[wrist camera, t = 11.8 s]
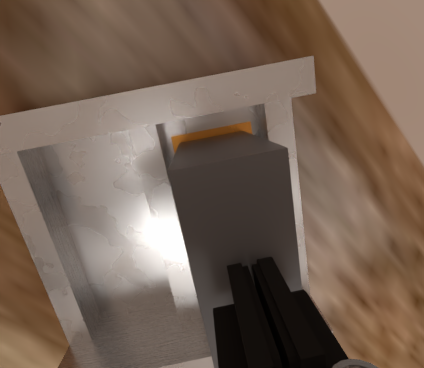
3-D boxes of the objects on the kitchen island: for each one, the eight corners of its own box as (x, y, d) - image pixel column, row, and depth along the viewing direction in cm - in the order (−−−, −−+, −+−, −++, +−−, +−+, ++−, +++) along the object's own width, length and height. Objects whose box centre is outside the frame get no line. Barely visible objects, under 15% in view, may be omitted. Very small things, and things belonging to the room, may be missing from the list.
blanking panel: (263, 268, 19) (311, 374, 11) (208, 279, 19) (219, 393, 11) (243, 130, 16) (289, 147, 9) (178, 142, 16) (166, 171, 8)
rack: (295, 288, 21) (334, 354, 15) (94, 330, 21) (56, 414, 15) (271, 75, 17) (313, 55, 11) (14, 124, 16) (-84, 131, 11)
